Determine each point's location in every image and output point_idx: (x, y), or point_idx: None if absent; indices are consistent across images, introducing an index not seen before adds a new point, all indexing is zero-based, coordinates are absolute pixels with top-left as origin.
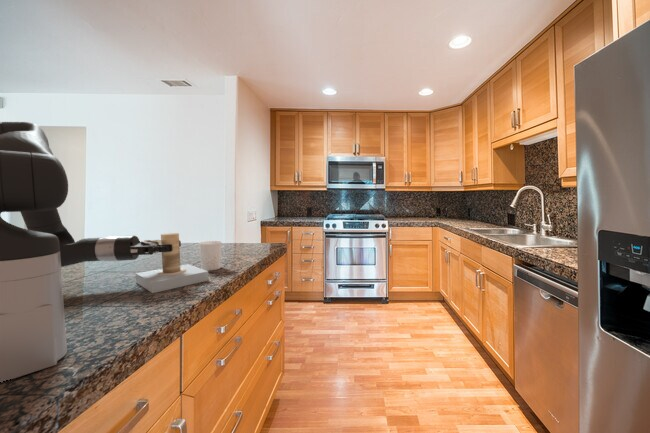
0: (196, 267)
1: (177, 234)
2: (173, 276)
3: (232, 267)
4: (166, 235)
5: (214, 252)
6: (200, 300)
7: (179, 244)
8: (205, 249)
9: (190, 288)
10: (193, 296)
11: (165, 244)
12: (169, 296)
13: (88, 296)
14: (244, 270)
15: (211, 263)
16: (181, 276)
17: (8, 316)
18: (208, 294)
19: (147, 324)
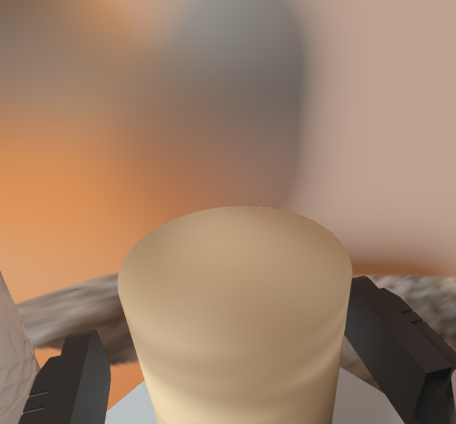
0: (139, 388)
1: (241, 209)
2: (352, 417)
3: (35, 322)
4: (341, 246)
5: (14, 304)
6: (439, 276)
7: (102, 358)
8: None
9: (352, 351)
10: (423, 304)
11: (381, 312)
12: None
13: None
14: (116, 274)
15: (34, 363)
16: (341, 370)
17: None
18: (387, 277)
19: None
